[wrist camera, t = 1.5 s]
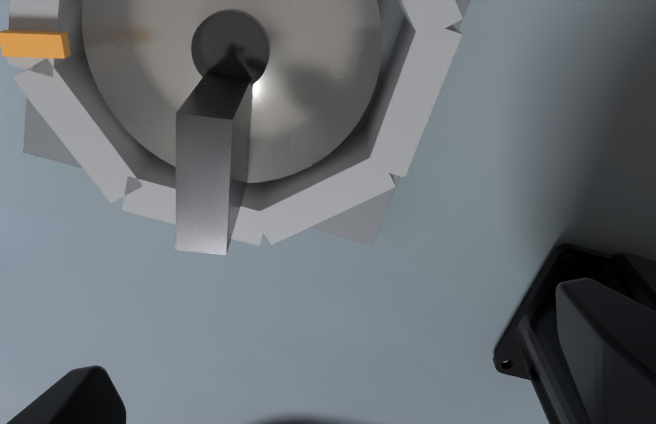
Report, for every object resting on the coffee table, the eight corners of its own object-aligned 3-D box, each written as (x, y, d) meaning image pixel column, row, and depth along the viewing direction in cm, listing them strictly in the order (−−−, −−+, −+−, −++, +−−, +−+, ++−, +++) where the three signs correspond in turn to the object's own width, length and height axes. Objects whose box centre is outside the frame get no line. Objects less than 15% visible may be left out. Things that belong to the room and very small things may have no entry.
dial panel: (370, 228, 22) (378, 291, 18) (39, 139, 20) (-24, 189, 17) (504, -116, 17) (553, -122, 13) (71, -275, 15) (-11, -333, 11)
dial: (355, 170, 19) (366, 269, 14) (114, 143, 19) (30, 234, 14) (398, -99, 16) (434, -103, 10) (99, -141, 15) (-25, -168, 10)
